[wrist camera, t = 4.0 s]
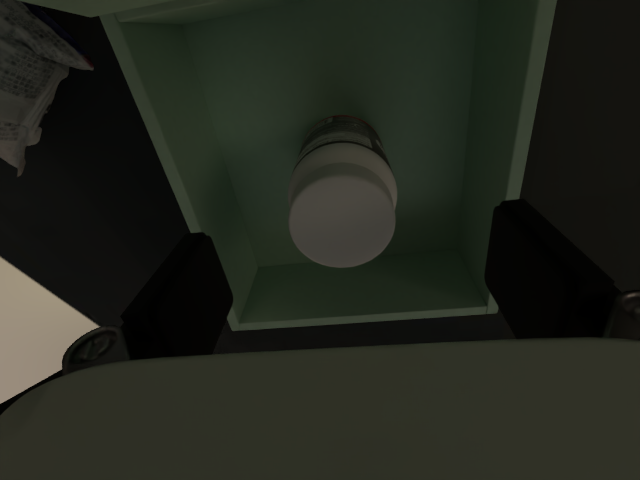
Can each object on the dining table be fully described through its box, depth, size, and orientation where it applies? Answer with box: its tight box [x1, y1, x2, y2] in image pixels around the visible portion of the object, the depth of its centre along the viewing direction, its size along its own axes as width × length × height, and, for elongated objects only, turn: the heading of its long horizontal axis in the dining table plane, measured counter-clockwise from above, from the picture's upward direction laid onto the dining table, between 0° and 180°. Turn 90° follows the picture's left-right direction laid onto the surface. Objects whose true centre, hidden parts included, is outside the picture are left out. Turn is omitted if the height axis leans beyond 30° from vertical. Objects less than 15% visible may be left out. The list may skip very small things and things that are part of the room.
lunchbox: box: [99, 0, 557, 331], centre depth 17 cm, size 16×15×6 cm
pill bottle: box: [288, 114, 397, 268], centre depth 16 cm, size 5×5×8 cm
